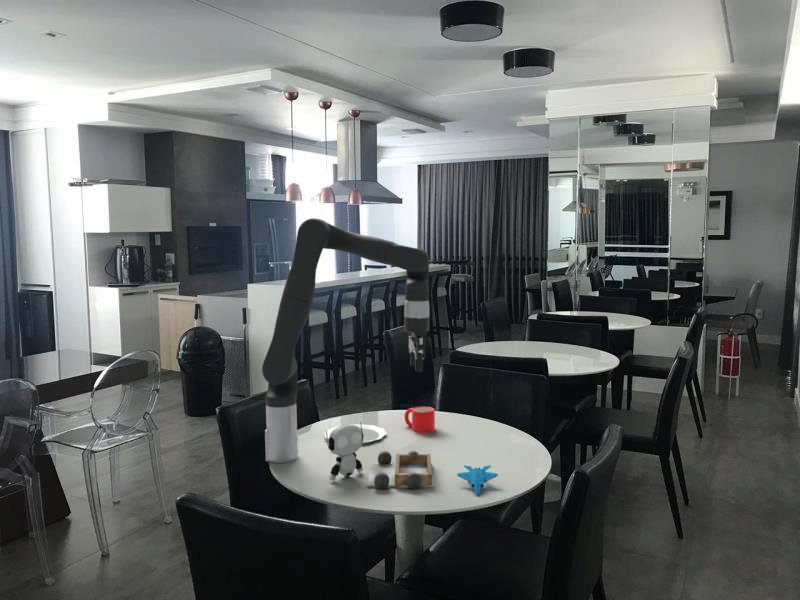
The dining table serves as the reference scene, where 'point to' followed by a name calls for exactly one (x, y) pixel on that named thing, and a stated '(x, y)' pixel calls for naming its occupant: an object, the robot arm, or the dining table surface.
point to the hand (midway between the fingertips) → (416, 368)
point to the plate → (369, 427)
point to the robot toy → (345, 449)
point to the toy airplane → (477, 477)
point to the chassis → (401, 471)
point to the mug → (421, 419)
